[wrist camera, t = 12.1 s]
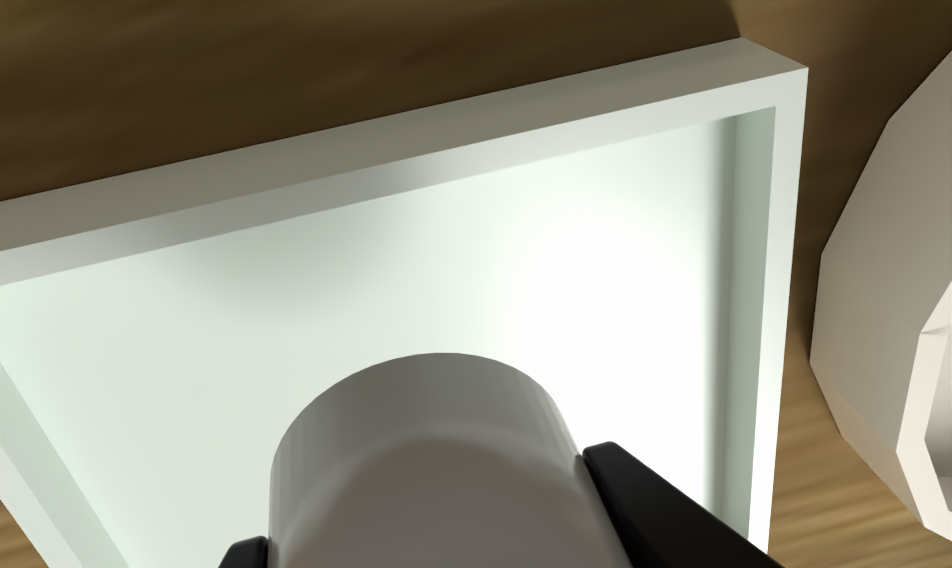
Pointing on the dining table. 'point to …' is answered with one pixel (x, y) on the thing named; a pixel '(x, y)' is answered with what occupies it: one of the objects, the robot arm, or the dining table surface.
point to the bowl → (896, 307)
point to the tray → (407, 296)
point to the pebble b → (436, 474)
